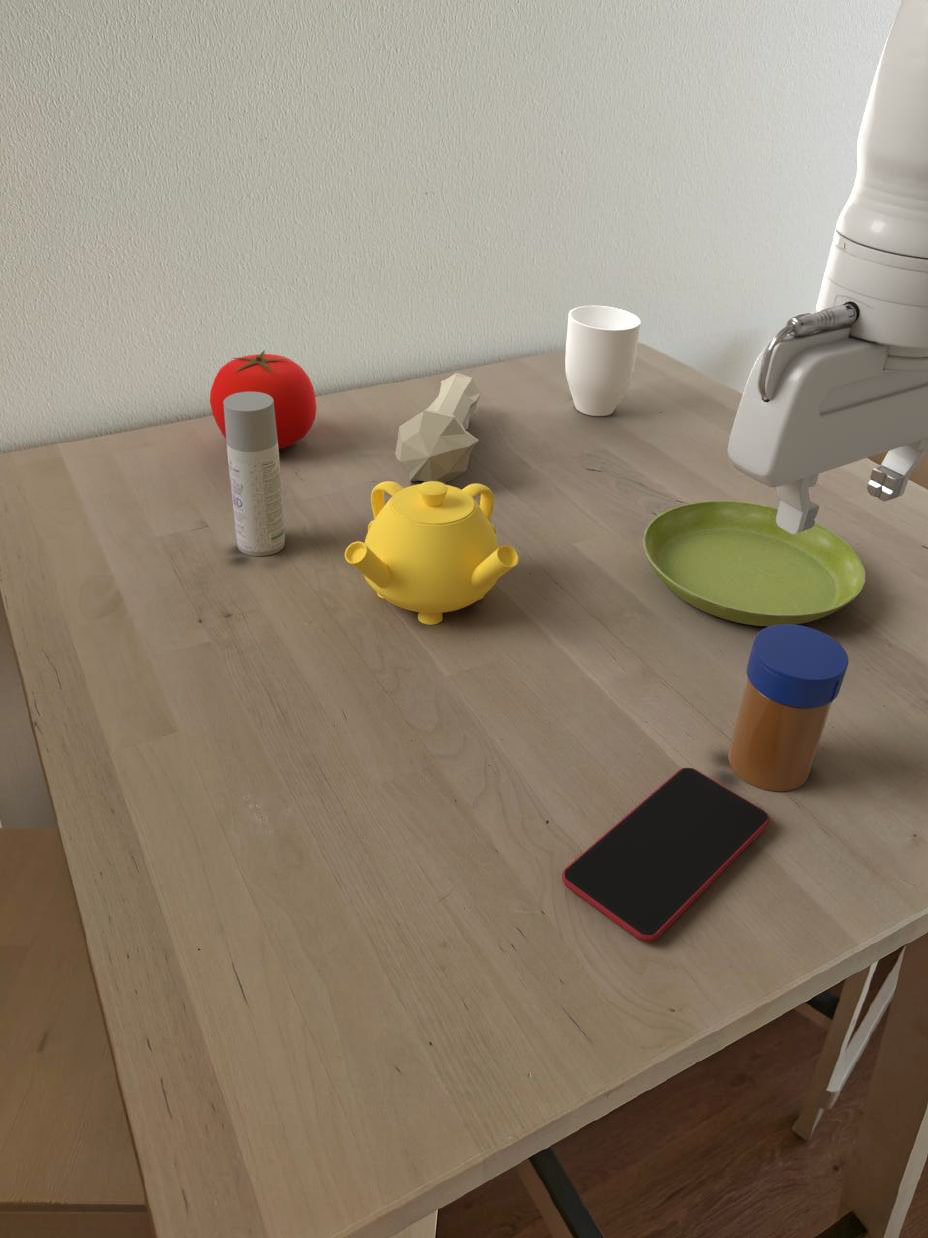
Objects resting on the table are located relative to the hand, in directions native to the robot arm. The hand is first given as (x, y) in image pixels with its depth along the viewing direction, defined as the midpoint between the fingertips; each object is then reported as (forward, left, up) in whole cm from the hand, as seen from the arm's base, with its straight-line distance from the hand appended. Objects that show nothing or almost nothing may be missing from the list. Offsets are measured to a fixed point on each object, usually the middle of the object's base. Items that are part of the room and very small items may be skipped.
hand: (839, 511), depth 64 cm
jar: (0, 0, -22) cm, 22 cm away
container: (+44, +28, -22) cm, 57 cm away
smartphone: (-5, +12, -22) cm, 25 cm away
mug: (+64, -21, -22) cm, 71 cm away
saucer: (+22, -14, -22) cm, 34 cm away
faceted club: (+58, +2, -22) cm, 62 cm away
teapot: (+29, +16, -22) cm, 40 cm away
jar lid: (0, 0, -11) cm, 11 cm away
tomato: (+66, +22, -22) cm, 73 cm away
